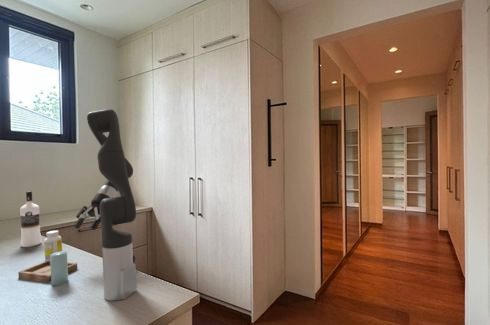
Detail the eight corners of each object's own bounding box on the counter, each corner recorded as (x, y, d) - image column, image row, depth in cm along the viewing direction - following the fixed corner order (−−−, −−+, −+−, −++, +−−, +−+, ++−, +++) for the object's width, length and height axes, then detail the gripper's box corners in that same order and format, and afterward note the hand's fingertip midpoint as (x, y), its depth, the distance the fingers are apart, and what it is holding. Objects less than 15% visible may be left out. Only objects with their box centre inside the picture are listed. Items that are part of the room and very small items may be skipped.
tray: (77, 268, 109) (77, 263, 109) (49, 282, 98) (49, 275, 98) (48, 265, 113) (48, 260, 113) (18, 278, 102) (18, 272, 102)
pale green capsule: (71, 279, 99) (70, 251, 99) (58, 286, 94) (57, 257, 94) (61, 278, 101) (59, 250, 100) (47, 284, 96) (46, 255, 95)
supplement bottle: (61, 254, 126) (60, 228, 126) (63, 258, 122) (62, 231, 121) (44, 258, 122) (42, 232, 122) (46, 262, 117) (44, 234, 117)
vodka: (44, 241, 149) (42, 189, 148) (38, 246, 141) (36, 191, 140) (24, 243, 145) (21, 191, 145) (17, 248, 137) (14, 193, 136)
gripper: (87, 192, 118) (65, 223, 108) (112, 192, 115) (92, 225, 104) (97, 201, 124) (76, 231, 113) (121, 202, 120) (103, 233, 109)
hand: (84, 228), depth 109 cm, fingers open, 8 cm apart
